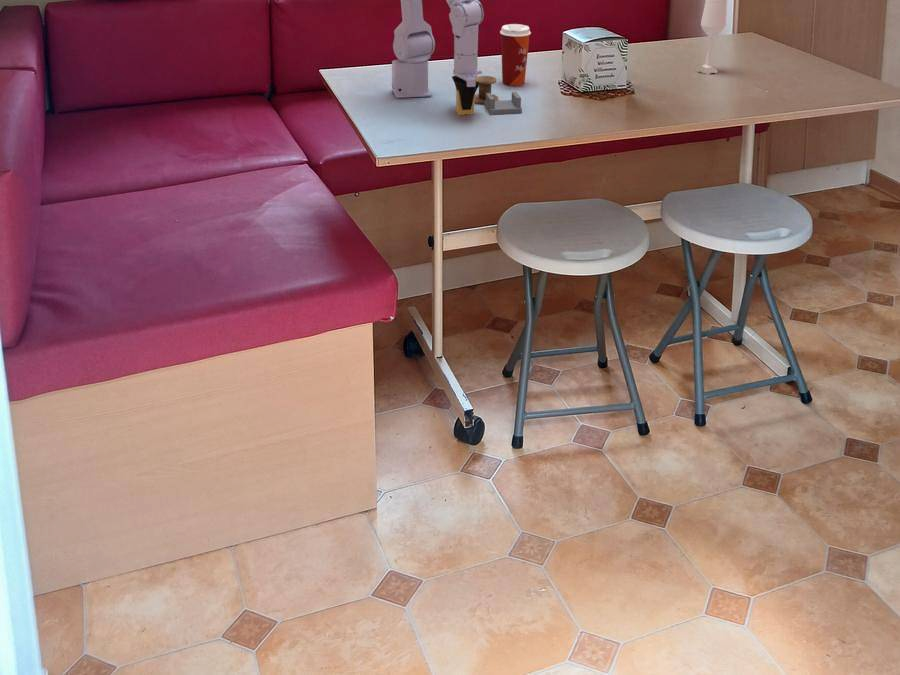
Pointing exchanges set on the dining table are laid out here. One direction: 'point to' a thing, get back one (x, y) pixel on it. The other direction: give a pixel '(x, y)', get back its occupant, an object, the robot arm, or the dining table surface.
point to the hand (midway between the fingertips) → (465, 107)
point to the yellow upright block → (459, 107)
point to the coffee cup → (514, 53)
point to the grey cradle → (503, 105)
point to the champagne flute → (713, 22)
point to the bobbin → (484, 89)
